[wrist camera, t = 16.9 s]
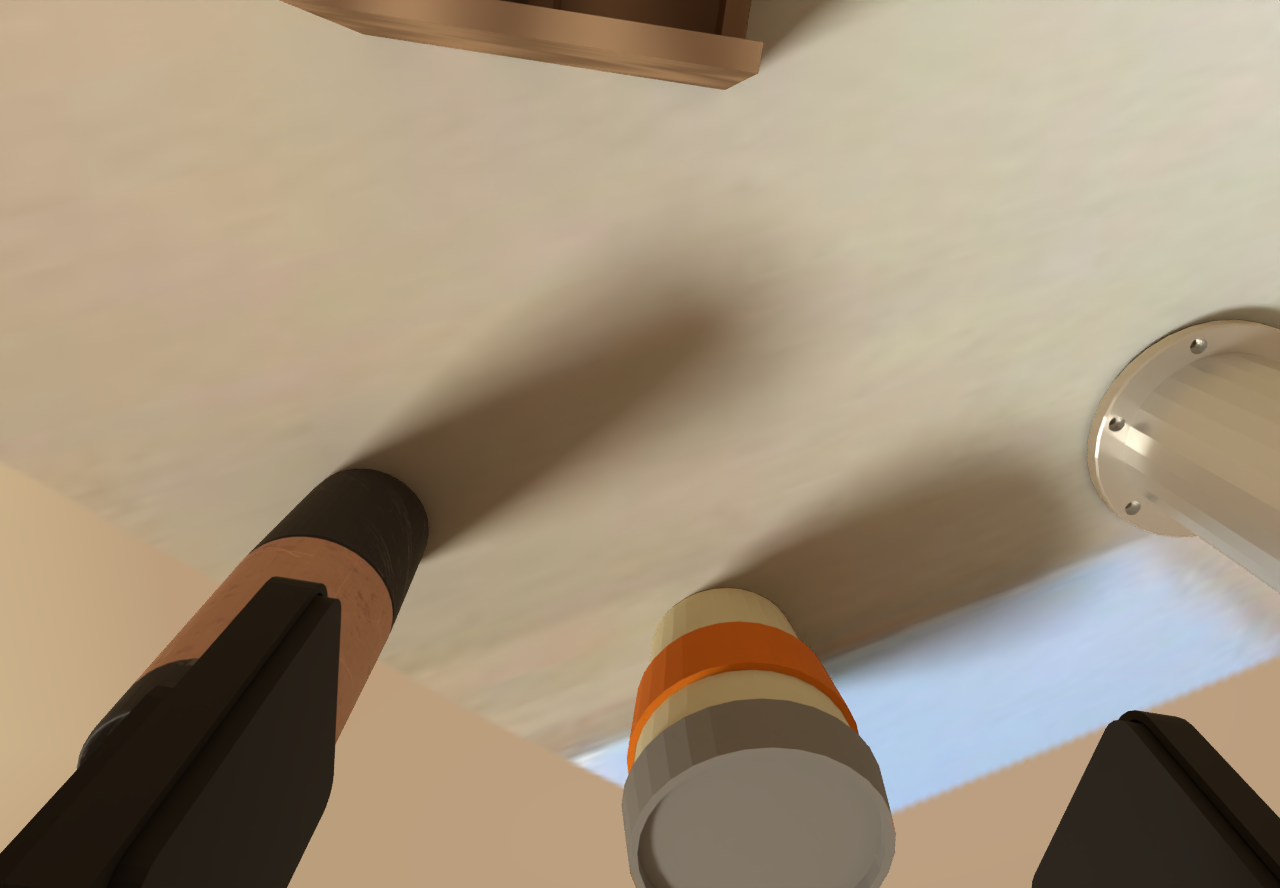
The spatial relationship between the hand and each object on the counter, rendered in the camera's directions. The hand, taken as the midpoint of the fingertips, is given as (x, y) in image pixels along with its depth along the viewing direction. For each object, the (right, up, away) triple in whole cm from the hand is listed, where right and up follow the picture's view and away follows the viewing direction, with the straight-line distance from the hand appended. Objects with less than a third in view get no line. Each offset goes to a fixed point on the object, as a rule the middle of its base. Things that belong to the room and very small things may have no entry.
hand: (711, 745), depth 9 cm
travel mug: (-17, -1, +36) cm, 40 cm away
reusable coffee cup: (+4, -9, +40) cm, 41 cm away
